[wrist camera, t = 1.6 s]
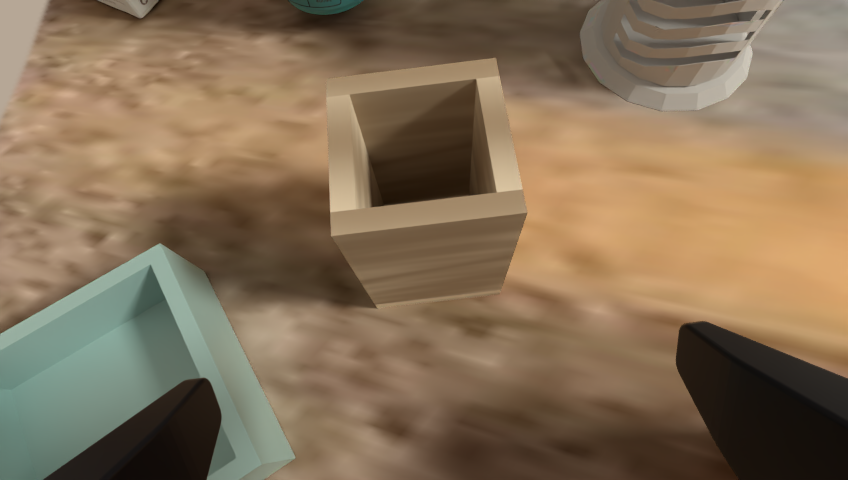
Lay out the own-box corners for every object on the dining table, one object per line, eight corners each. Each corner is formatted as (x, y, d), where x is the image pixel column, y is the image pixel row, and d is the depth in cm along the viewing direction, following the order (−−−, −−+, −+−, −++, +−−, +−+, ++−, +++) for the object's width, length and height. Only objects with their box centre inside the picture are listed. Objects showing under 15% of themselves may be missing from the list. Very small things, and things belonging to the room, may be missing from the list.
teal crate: (295, 458, 21) (261, 464, 17) (71, 609, 19) (-20, 652, 16) (204, 271, 25) (159, 243, 21) (7, 386, 23) (-79, 378, 19)
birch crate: (499, 294, 23) (527, 212, 14) (377, 308, 23) (331, 236, 14) (481, 185, 25) (495, 57, 17) (370, 199, 26) (325, 78, 17)
